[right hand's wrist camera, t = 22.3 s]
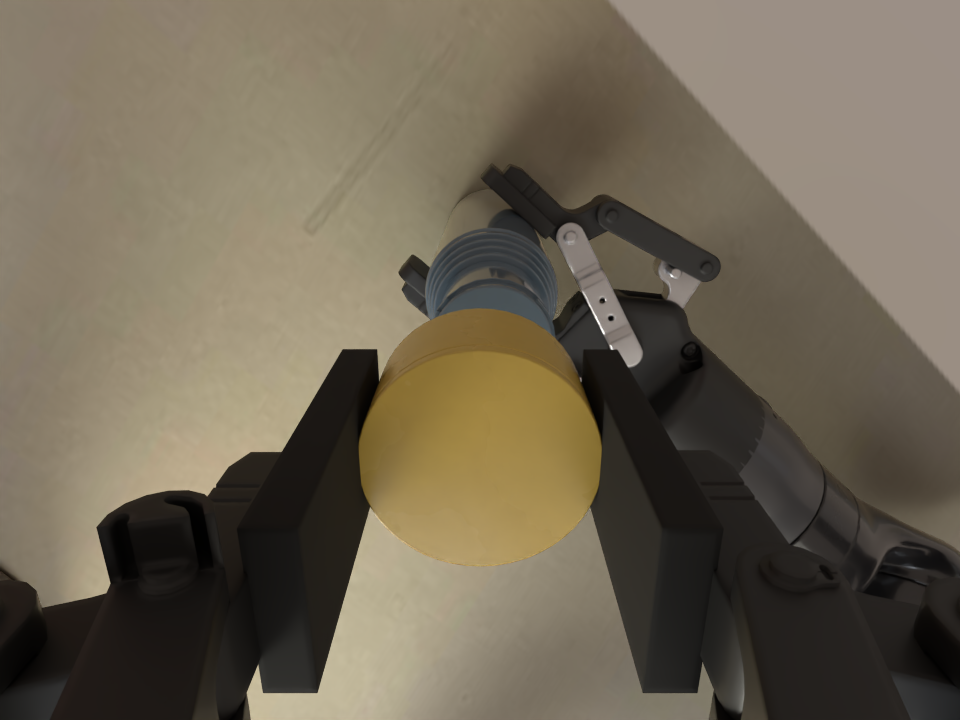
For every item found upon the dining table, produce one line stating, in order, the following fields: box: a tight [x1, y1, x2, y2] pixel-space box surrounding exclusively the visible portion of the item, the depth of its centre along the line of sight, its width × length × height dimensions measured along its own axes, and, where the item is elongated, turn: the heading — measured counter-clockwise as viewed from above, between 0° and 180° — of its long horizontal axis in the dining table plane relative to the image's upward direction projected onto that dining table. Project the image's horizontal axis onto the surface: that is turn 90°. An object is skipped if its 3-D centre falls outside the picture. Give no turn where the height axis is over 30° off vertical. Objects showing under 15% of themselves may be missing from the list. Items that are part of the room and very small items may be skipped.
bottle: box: [425, 189, 558, 337], centre depth 26 cm, size 5×5×18 cm
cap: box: [358, 308, 602, 566], centre depth 13 cm, size 5×5×3 cm
